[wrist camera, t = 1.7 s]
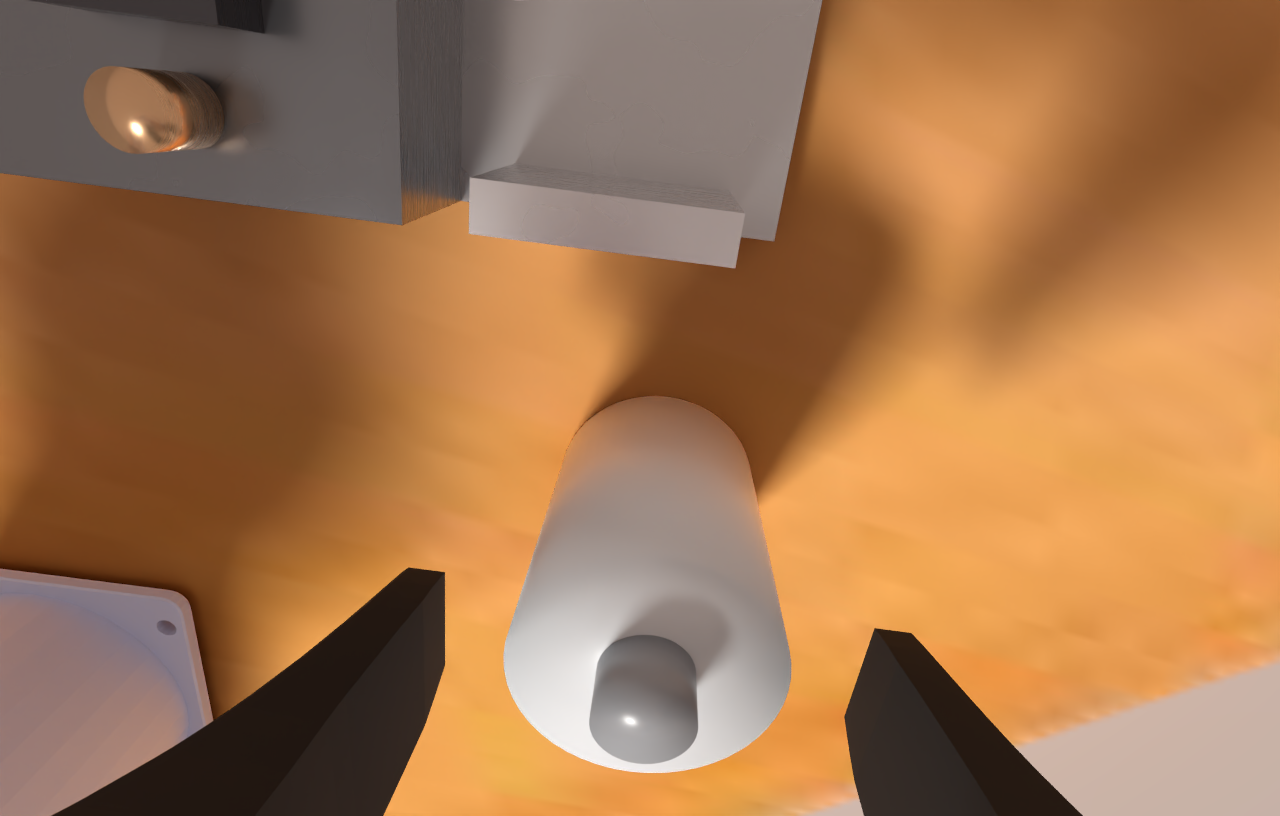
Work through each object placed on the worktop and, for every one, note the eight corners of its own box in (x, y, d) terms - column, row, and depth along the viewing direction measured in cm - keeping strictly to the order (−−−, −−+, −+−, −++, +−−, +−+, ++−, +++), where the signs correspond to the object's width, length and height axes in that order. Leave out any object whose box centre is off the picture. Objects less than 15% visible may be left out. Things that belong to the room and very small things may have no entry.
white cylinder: (732, 571, 17) (768, 844, 11) (554, 549, 17) (484, 810, 11) (768, 409, 15) (835, 624, 9) (568, 383, 15) (491, 581, 9)
